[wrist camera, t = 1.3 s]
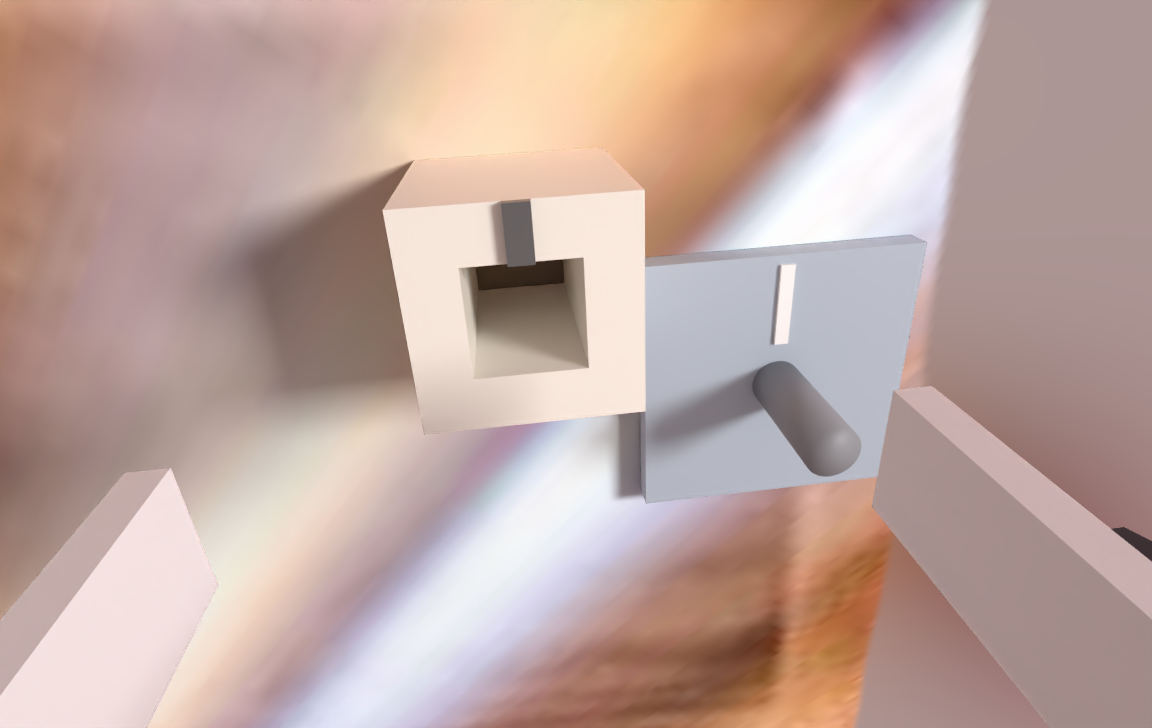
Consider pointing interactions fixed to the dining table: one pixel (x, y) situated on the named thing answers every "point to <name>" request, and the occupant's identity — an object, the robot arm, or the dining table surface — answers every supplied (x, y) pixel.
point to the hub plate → (737, 342)
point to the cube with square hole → (521, 314)
